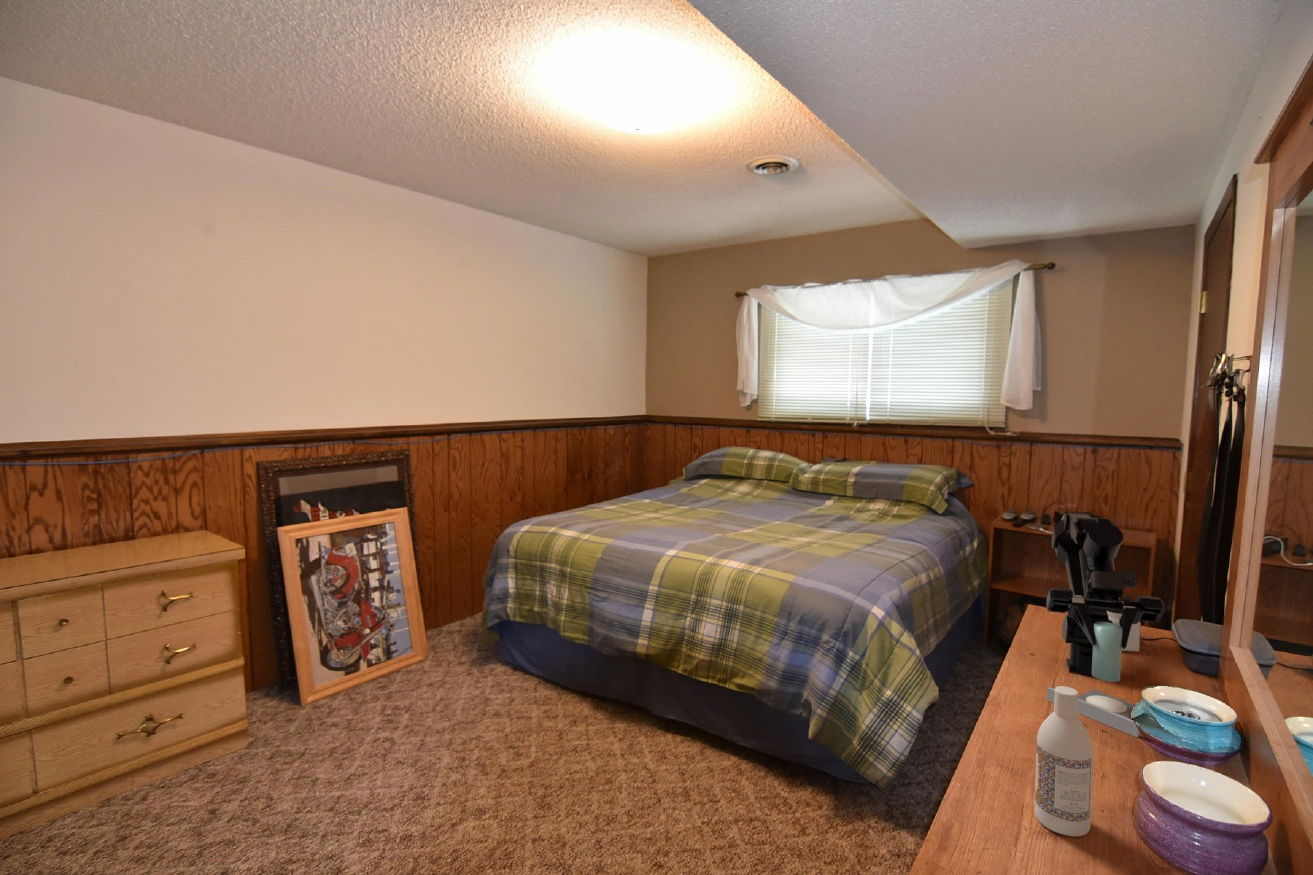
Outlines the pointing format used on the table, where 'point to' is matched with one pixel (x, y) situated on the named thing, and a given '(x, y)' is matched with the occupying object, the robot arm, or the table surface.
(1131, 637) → the medicine bottle
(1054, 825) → the bath foam
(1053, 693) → the low wall
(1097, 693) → the mat
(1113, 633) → the teal canister
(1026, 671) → the table surface
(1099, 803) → the table surface
